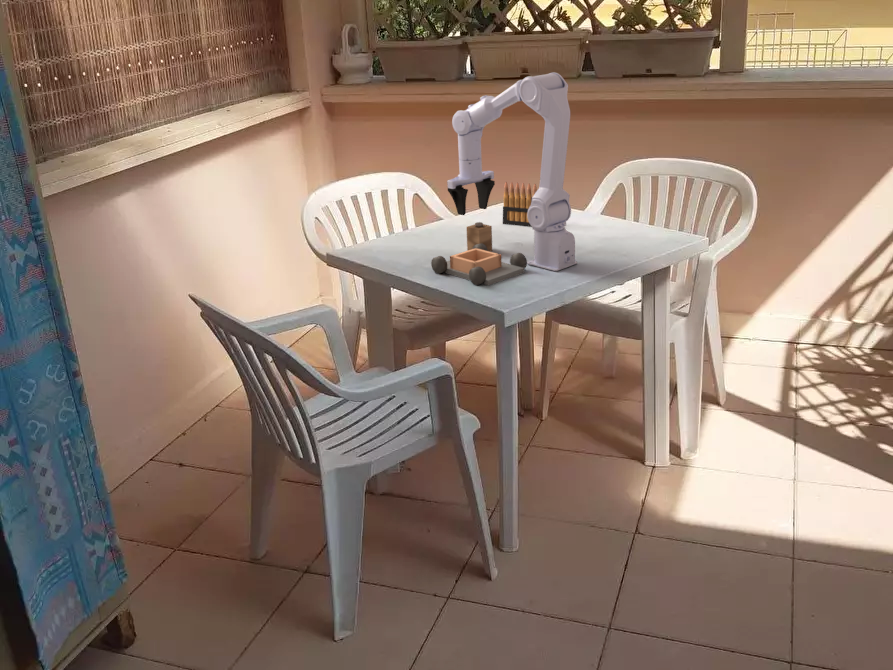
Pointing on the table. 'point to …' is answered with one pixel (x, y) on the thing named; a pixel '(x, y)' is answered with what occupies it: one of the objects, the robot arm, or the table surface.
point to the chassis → (480, 265)
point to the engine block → (479, 235)
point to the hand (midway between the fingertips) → (472, 211)
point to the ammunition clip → (517, 205)
